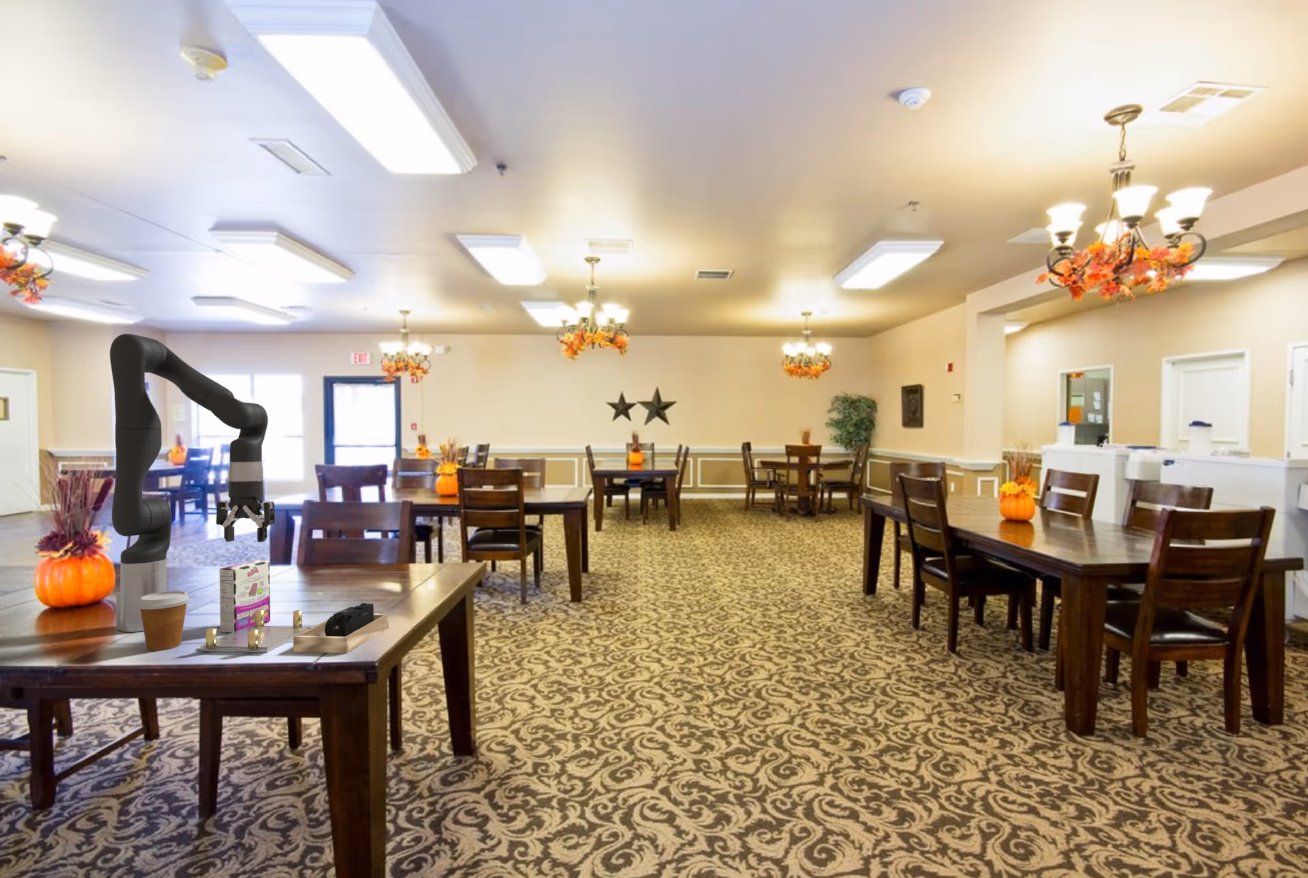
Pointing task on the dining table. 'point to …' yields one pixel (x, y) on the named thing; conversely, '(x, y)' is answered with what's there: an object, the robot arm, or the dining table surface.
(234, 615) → the candy bar box
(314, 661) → the dining table surface
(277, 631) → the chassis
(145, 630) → the disposable coffee cup
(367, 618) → the camera
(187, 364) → the robot arm
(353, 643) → the oak frame
